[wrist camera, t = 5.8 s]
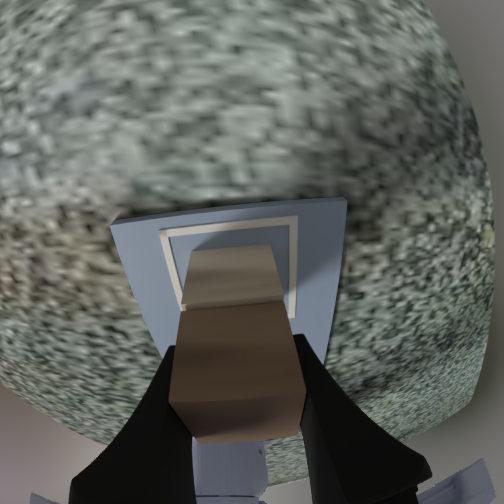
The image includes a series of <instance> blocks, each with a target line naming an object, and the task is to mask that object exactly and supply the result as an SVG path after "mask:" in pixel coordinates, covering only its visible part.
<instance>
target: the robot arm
mask: <svg viewBox="0 0 504 504" xmlns="http://www.w3.org/2000/svg"><path fill="white" fill-rule="evenodd" d="M293 338H294V342H295V346H296V350H297V354H298V358H299V362H300V366H301V370H302V374H303V379H304V383H305V387H306V396H305V401H304V407H303V412H302V416H301V421H300V427H301V431H302V435H303V439H304V445H305V451H306V457H307V464H308V471H309V478H310V485H311V493H312V502H313V504H489V503H491V502H492V501H493V500H494V499H495V498H496V494H495V490H494V487H493V484H492V481H491V478H490V475H489V472H488V469H487V467H486V464H485V461H484V459H483V458H481V459H479V460H477V461H476V462H474V463H473V464H471V465H470V466H468V467H466V468H465V469H463V470H460V471H458V472H456V473H455V474H453V475H451V476H449V477H448V478H446V479H444V480H443V481H441V482H439V483H437V484H436V485H435V486H434V487H432V488H430V489H429V490H427V491H425V492H423V493H421V494H419V495H417V496H416V492H417V491H418V487H417V485H418V484H420V483H422V482H424V481H425V480H427V479H429V478H431V477H432V472H431V469H430V466H429V465H428V463H427V461H426V459H425V458H424V456H422V455H421V454H419V453H417V452H416V451H414V450H412V449H410V448H409V447H407V446H406V445H404V444H403V443H401V442H400V441H398V440H397V439H395V438H394V437H393V436H391V435H390V434H389V433H387V432H386V431H385V430H384V429H382V428H381V427H380V426H379V425H377V424H376V423H375V422H374V421H373V420H371V419H370V418H369V417H368V416H367V415H366V414H365V413H364V412H363V411H362V410H361V409H360V408H359V407H358V406H357V405H356V404H355V403H354V402H353V401H352V400H351V399H350V398H349V397H348V396H347V395H346V393H345V392H344V391H343V390H342V389H341V388H340V386H339V385H338V384H337V383H336V381H335V380H334V379H333V378H332V376H331V375H330V374H329V372H328V371H327V370H326V368H325V367H324V365H323V364H322V363H321V361H320V360H319V358H318V357H317V355H316V354H315V352H314V350H313V349H312V347H311V345H310V344H309V342H308V340H307V338H306V337H305V335H304V334H302V333H301V334H294V335H293ZM175 346H176V345H170V346H169V347H168V349H167V351H166V353H165V355H164V358H163V360H162V362H161V364H160V366H159V368H158V370H157V372H156V374H155V376H154V378H153V380H152V382H151V383H150V385H149V387H148V389H147V391H146V393H145V394H144V396H143V398H142V399H141V401H140V403H139V404H138V406H137V408H136V409H135V411H134V412H133V414H132V415H131V417H130V418H129V420H128V421H127V423H126V424H125V425H124V427H123V428H122V429H121V431H120V432H119V433H118V434H117V436H116V437H115V438H114V439H113V441H112V442H111V443H110V444H109V445H108V446H107V448H106V449H105V450H104V451H103V452H102V453H101V454H100V455H99V456H98V457H97V458H96V459H95V460H94V461H93V462H92V463H91V464H90V465H89V466H88V467H86V468H85V469H84V470H83V471H81V472H80V473H79V474H78V475H77V476H75V477H74V478H73V479H72V481H71V485H70V493H69V503H68V504H266V503H265V502H264V501H259V497H260V496H261V495H262V494H263V493H264V492H265V490H266V488H267V485H268V474H267V466H266V458H265V450H264V444H268V443H270V441H269V440H259V441H248V442H233V443H198V442H197V440H196V439H195V438H194V437H193V435H192V434H191V433H190V431H189V430H188V429H187V427H186V426H185V424H184V423H183V422H182V420H181V419H180V418H179V416H178V415H177V413H176V412H175V410H174V409H173V407H172V406H171V404H170V403H169V393H170V384H171V376H172V368H173V360H174V353H175ZM30 504H59V503H57V502H53V501H51V500H48V499H46V498H44V497H41V496H39V495H37V494H35V493H31V497H30Z"/></svg>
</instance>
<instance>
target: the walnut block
mask: <svg viewBox="0 0 504 504" xmlns="http://www.w3.org/2000/svg"><path fill="white" fill-rule="evenodd" d="M305 396H306V387H305V383H304V379H303V374H302V370H301V366H300V362H299V358H298V354H297V350H296V346H295V342H294V338H293V334H292V330H291V326H290V323H289V319H288V315H287V311H286V307H285V303H284V302H275V303H266V304H257V305H248V306H238V307H227V308H216V309H204V310H191V311H181V313H180V320H179V326H178V332H177V339H176V346H175V353H174V360H173V368H172V376H171V384H170V393H169V403H170V404H171V406H172V407H173V409H174V410H175V412H176V413H177V415H178V416H179V418H180V419H181V420H182V422H183V423H184V424H185V426H186V427H187V429H188V430H189V431H190V433H191V434H192V435H193V437H194V438H195V439H196V440H197V442H198V443H233V442H248V441H259V440H268V439H276V438H284V437H290V436H297V435H298V430H299V426H300V421H301V416H302V412H303V407H304V401H305Z"/></svg>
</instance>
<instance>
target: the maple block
mask: <svg viewBox="0 0 504 504" xmlns="http://www.w3.org/2000/svg"><path fill="white" fill-rule="evenodd" d="M275 302H284V293H283V289H282V286H281V282H280V278H279V275H278V271H277V267H276V264H275V260H274V257H273V253H272V249H271V246H270V243H268V244H258V245H248V246H238V247H228V248H218V249H208V250H199V251H191V253H190V258H189V263H188V268H187V274H186V279H185V284H184V289H183V295H182V301H181V306H182V310H183V311H191V310H204V309H216V308H227V307H238V306H248V305H257V304H266V303H275Z"/></svg>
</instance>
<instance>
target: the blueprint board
mask: <svg viewBox="0 0 504 504" xmlns="http://www.w3.org/2000/svg"><path fill="white" fill-rule="evenodd" d="M346 212H347V200H346V199H345V198H344V197H329V198H312V199H297V200H284V201H271V202H259V203H248V204H238V205H228V206H219V207H210V208H201V209H192V210H184V211H176V212H169V213H161V214H154V215H147V216H140V217H134V218H127V219H121V220H114V221H113V222H112V224H111V225H110V228H111V231H112V234H113V237H114V240H115V244H116V247H117V250H118V253H119V256H120V258H121V261H122V264H123V267H124V270H125V273H126V275H127V278H128V281H129V283H130V286H131V288H132V291H133V294H134V296H135V299H136V301H137V304H138V306H139V308H140V311H141V313H142V315H143V318H144V320H145V322H146V325H147V327H148V329H149V331H150V334H151V336H152V338H153V340H154V342H155V344H156V346H157V348H158V351H159V353H160V355H161V357H162V359H163V358H164V355H165V353H166V351H167V349H168V347H169V346H170V345H176V339H177V332H178V326H179V320H180V313H181V311H183V310H182V306H181V301H182V295H183V289H184V284H185V279H186V274H187V268H188V263H189V258H190V253H191V251H199V250H208V249H218V248H228V247H238V246H248V245H258V244H268V243H270V246H271V249H272V253H273V257H274V260H275V264H276V267H277V271H278V275H279V278H280V282H281V286H282V289H283V293H284V303H285V307H286V311H287V315H288V319H289V323H290V326H291V330H292V334H293V335H294V334H301V333H302V334H304V335H305V337H306V338H307V340H308V342H309V344H310V345H311V347H312V349H313V350H314V352H315V354H316V355H317V357H318V358H319V360H320V361H321V363H322V364H324V359H325V355H326V350H327V345H328V340H329V335H330V330H331V324H332V319H333V313H334V307H335V301H336V295H337V288H338V282H339V275H340V267H341V260H342V251H343V243H344V233H345V223H346Z"/></svg>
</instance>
